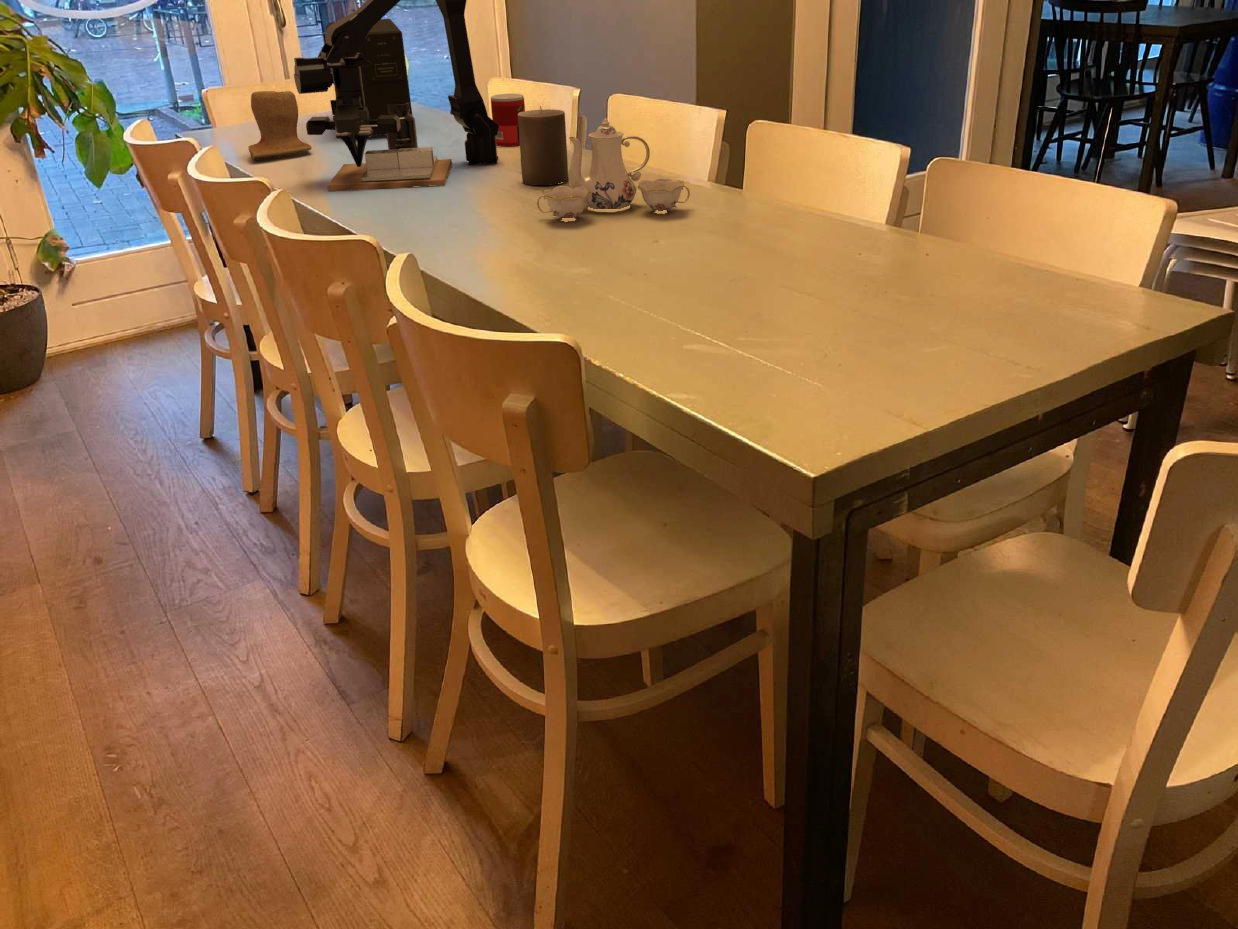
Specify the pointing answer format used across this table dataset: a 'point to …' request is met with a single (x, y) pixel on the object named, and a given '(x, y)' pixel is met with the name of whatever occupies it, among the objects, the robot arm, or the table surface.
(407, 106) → the supplement bottle
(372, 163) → the loose leaf
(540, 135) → the pillar candle
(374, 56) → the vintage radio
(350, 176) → the board
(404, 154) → the fixed leaf
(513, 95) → the canned food
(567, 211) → the chinaware
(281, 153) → the brown chair-shaped stand
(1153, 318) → the table surface
